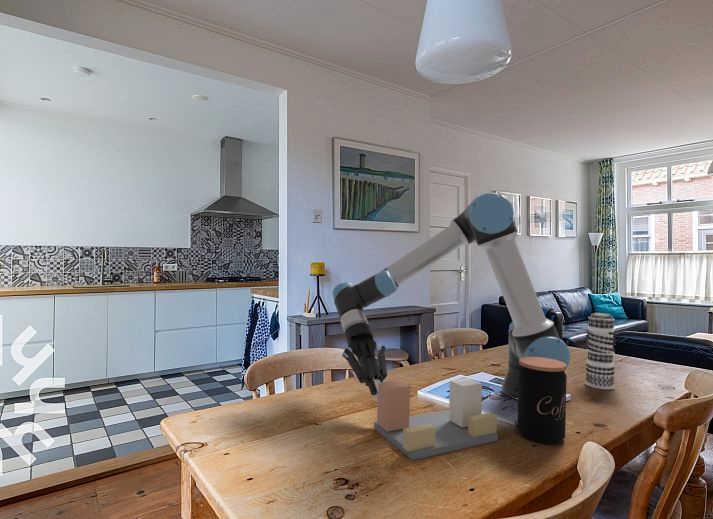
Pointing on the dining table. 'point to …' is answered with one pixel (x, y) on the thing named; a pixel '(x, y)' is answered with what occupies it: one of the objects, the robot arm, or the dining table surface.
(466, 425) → the cream key
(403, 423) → the terracotta key
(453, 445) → the board
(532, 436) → the coffee jar
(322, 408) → the dining table surface
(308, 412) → the dining table surface
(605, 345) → the white patterned cylinder
